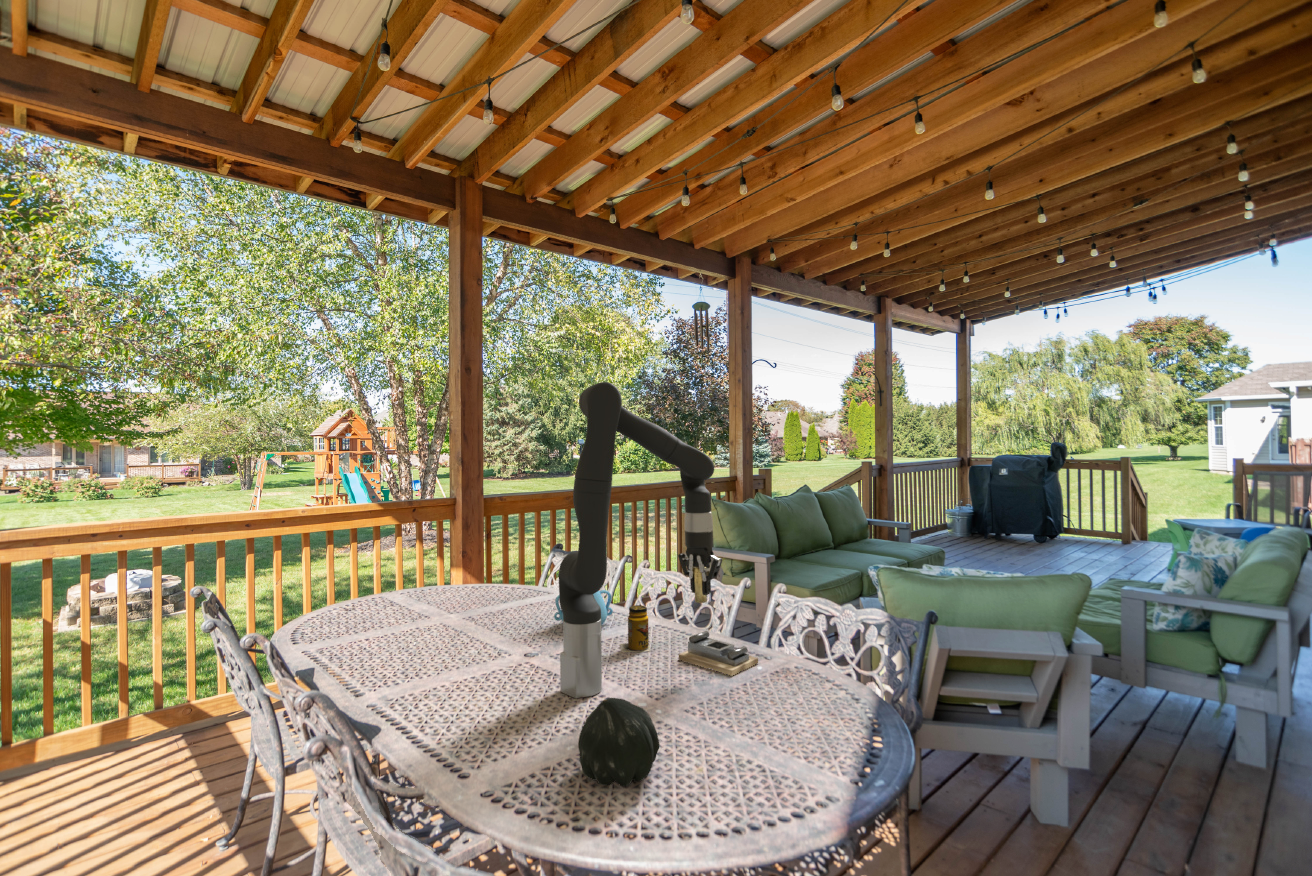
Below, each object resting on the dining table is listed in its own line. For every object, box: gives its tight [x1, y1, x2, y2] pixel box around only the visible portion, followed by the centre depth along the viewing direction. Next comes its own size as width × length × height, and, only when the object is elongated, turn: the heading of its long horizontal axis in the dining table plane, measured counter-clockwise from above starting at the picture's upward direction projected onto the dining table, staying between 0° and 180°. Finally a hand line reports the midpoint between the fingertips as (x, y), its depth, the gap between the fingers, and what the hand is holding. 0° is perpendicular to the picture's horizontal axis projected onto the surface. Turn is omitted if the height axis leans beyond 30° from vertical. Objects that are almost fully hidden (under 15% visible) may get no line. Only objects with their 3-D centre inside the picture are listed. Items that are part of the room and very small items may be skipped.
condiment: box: [619, 604, 652, 654], centre depth 178 cm, size 7×8×12 cm
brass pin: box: [694, 567, 708, 604], centre depth 162 cm, size 3×3×9 cm
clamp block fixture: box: [678, 630, 759, 677], centre depth 166 cm, size 12×18×6 cm, turn 47°
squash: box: [577, 697, 660, 787], centre depth 110 cm, size 14×15×15 cm
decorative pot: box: [553, 589, 614, 627], centre depth 200 cm, size 20×20×14 cm
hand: (700, 593), depth 162 cm, fingers closed on brass pin, 3 cm apart
